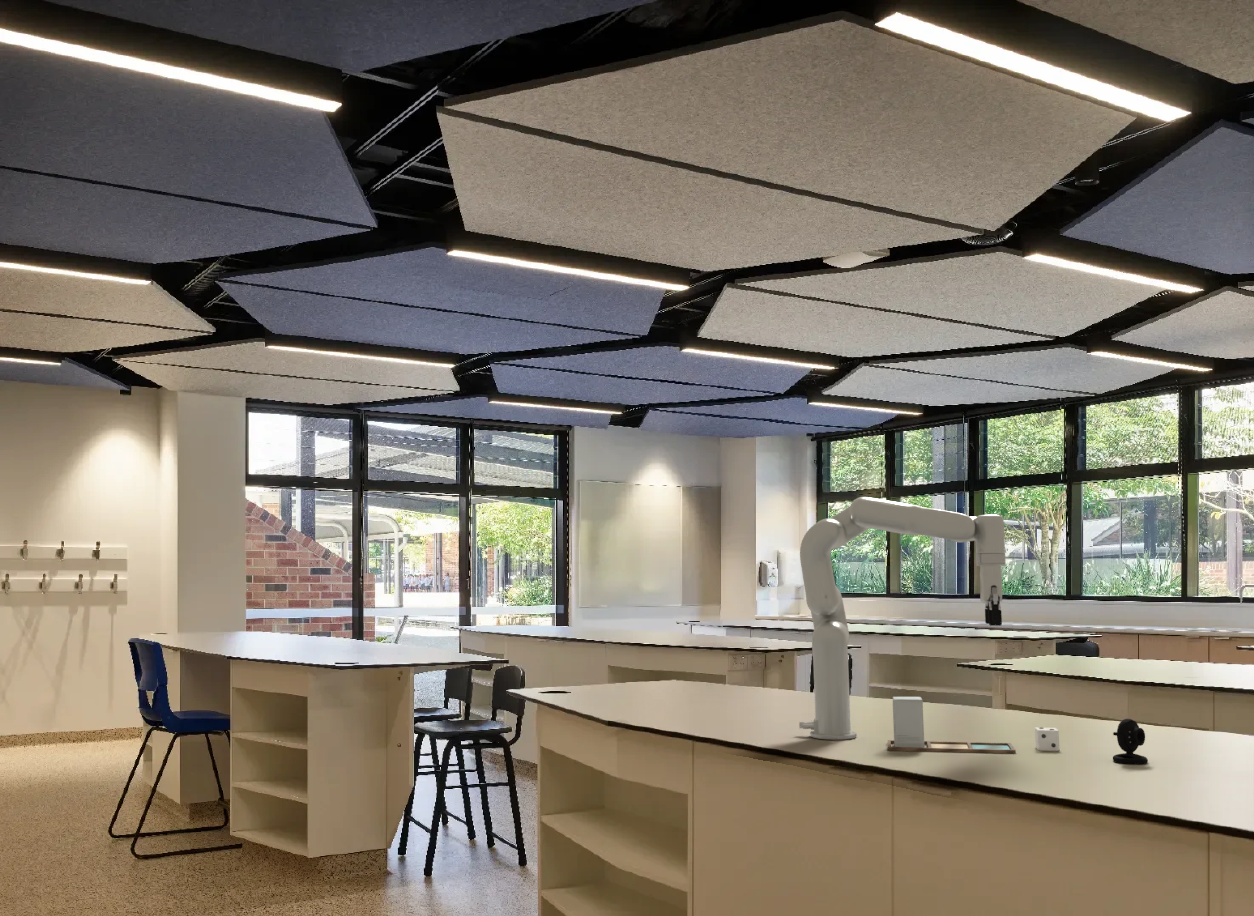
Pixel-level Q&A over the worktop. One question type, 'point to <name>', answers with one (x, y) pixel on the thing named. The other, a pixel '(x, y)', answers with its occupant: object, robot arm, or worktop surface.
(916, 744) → the supplement box
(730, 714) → the worktop surface
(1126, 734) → the webcam
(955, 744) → the board
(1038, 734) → the die
